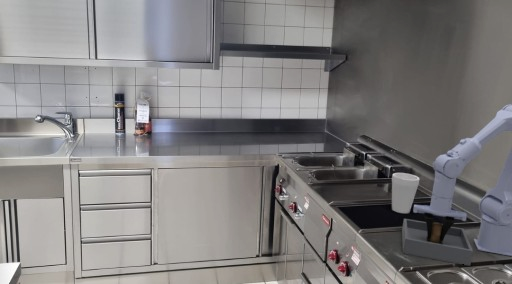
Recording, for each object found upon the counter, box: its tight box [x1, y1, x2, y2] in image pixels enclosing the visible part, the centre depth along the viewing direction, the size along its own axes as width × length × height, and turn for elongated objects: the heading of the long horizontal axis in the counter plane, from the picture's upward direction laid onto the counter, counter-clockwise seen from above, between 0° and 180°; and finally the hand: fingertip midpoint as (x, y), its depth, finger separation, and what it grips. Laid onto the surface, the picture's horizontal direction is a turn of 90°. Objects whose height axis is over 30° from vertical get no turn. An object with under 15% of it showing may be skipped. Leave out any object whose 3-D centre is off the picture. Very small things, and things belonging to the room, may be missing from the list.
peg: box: [429, 221, 443, 244], centre depth 135 cm, size 3×3×6 cm
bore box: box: [401, 218, 474, 267], centre depth 136 cm, size 18×17×4 cm
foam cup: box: [391, 172, 420, 214], centre depth 165 cm, size 10×9×13 cm
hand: (435, 238), depth 135 cm, fingers closed on peg, 3 cm apart
